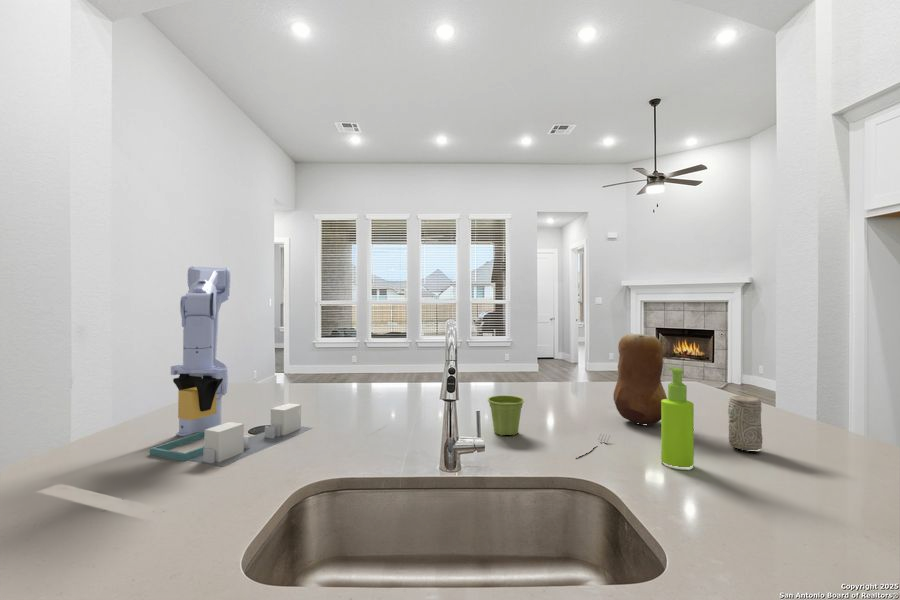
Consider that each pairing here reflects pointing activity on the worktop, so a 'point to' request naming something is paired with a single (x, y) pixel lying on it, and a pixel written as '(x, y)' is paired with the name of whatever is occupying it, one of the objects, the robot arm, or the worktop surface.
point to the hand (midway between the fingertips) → (198, 409)
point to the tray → (166, 453)
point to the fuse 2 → (287, 417)
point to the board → (250, 445)
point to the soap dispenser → (677, 424)
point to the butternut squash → (639, 379)
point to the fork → (604, 439)
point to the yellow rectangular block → (192, 405)
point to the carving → (745, 423)
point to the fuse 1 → (225, 440)
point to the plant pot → (506, 413)
